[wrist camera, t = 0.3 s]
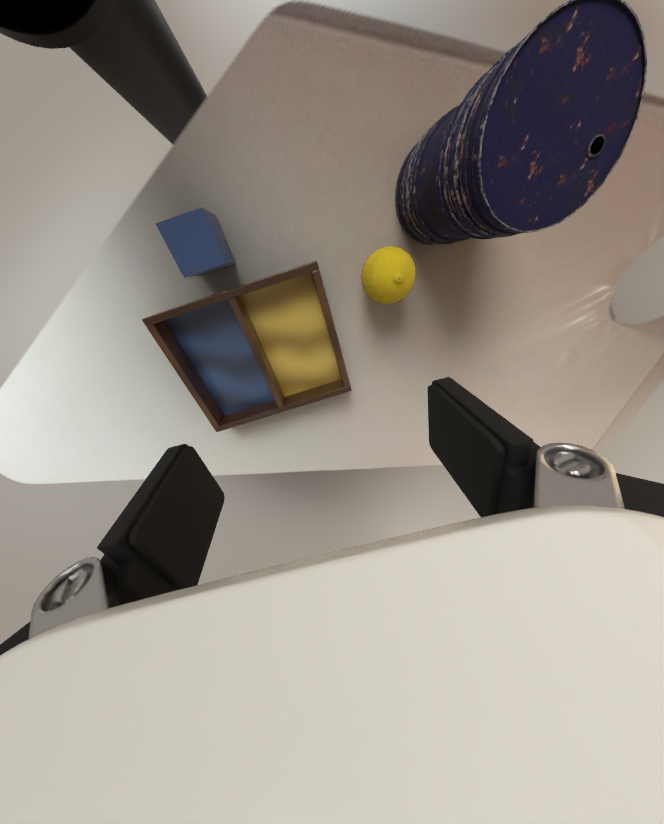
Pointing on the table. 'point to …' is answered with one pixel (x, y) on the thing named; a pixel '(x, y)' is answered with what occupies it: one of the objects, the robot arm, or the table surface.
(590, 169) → the storage jar
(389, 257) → the lemon
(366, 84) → the table surface
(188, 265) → the blue block
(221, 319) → the sorting tray
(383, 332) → the table surface
